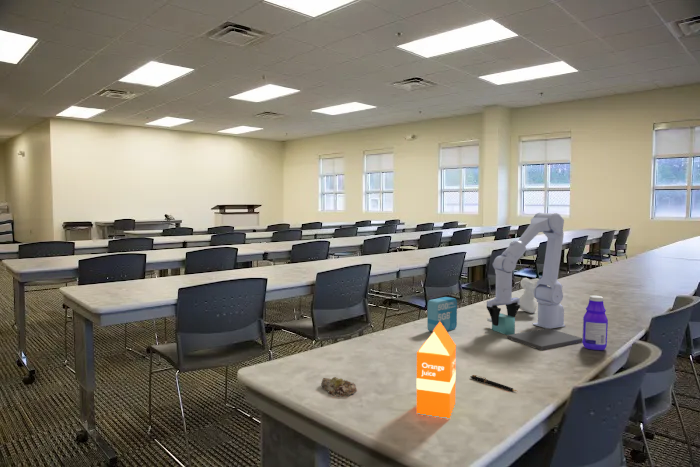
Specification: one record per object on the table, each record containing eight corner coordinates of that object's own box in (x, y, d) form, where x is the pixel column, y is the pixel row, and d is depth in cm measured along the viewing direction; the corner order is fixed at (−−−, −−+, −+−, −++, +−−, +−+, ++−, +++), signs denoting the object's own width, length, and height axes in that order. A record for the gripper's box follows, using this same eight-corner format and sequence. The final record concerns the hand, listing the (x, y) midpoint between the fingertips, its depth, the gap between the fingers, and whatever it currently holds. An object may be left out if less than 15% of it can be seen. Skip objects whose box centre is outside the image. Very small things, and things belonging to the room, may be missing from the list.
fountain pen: (519, 393, 120) (520, 387, 120) (517, 394, 119) (517, 389, 119) (471, 378, 130) (471, 373, 130) (468, 379, 130) (468, 374, 130)
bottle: (605, 346, 157) (606, 295, 156) (608, 352, 151) (610, 298, 150) (581, 344, 159) (582, 294, 158) (583, 349, 154) (584, 297, 153)
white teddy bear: (530, 309, 212) (531, 276, 211) (548, 314, 202) (549, 280, 201) (512, 310, 209) (513, 277, 208) (529, 316, 198) (530, 281, 198)
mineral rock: (365, 380, 123) (347, 381, 117) (363, 398, 122) (345, 399, 116) (333, 373, 129) (314, 374, 123) (330, 390, 129) (312, 391, 122)
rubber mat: (547, 331, 176) (548, 328, 176) (583, 341, 162) (583, 338, 162) (507, 338, 167) (507, 335, 167) (541, 350, 154) (541, 346, 154)
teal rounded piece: (493, 326, 184) (493, 311, 183) (517, 334, 173) (517, 318, 172) (485, 327, 182) (485, 312, 182) (508, 335, 171) (509, 319, 170)
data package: (436, 334, 173) (436, 302, 172) (427, 331, 177) (427, 300, 176) (457, 328, 181) (457, 297, 180) (447, 326, 184) (447, 296, 183)
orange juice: (415, 414, 108) (416, 328, 107) (424, 399, 116) (424, 319, 115) (450, 419, 105) (451, 332, 104) (456, 404, 113) (456, 322, 112)
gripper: (510, 284, 182) (509, 319, 183) (481, 287, 176) (480, 323, 176) (524, 287, 176) (523, 323, 176) (494, 291, 169) (493, 328, 170)
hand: (502, 323), depth 176 cm, fingers open, 7 cm apart
